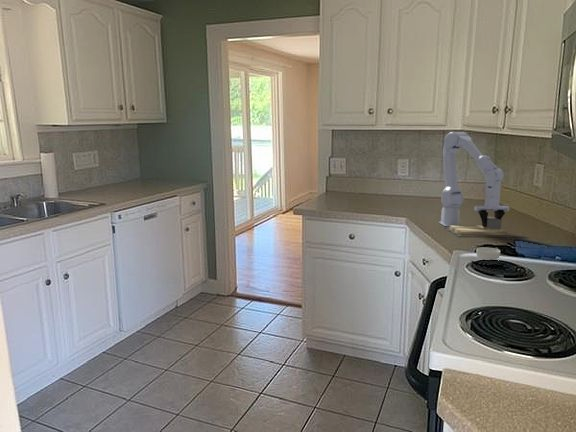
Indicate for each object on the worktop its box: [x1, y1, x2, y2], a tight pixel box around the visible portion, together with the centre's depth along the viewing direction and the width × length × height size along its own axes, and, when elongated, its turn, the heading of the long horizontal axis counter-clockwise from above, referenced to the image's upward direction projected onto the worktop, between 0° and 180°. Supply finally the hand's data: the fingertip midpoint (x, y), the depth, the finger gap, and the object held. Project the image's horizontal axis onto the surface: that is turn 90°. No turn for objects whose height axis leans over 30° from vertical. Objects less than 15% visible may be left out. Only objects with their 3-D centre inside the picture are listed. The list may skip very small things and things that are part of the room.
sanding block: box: [482, 216, 503, 230], centre depth 192 cm, size 8×4×4 cm, turn 3°
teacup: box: [475, 246, 501, 260], centre depth 146 cm, size 10×10×5 cm
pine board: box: [443, 224, 514, 238], centre depth 193 cm, size 18×23×2 cm
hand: (490, 226), depth 193 cm, fingers closed on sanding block, 4 cm apart
